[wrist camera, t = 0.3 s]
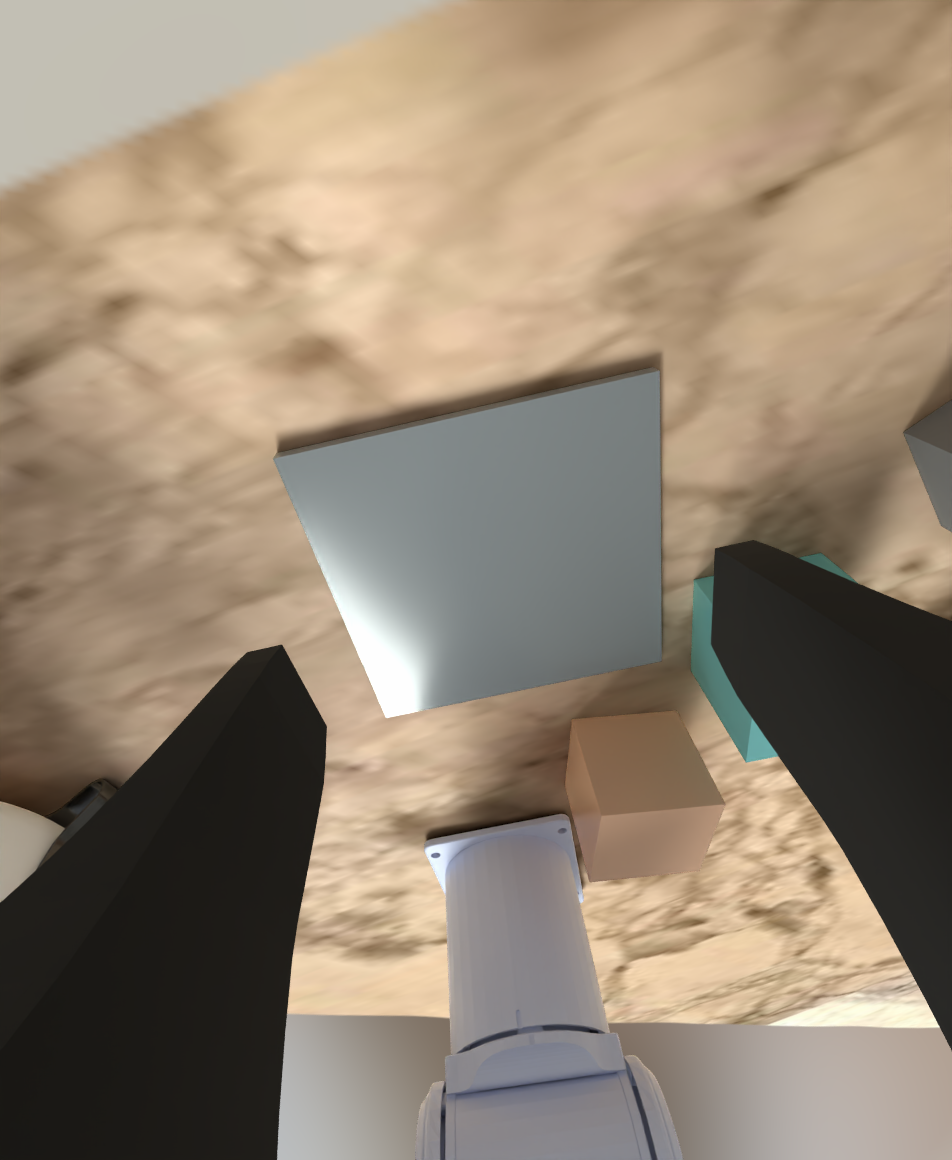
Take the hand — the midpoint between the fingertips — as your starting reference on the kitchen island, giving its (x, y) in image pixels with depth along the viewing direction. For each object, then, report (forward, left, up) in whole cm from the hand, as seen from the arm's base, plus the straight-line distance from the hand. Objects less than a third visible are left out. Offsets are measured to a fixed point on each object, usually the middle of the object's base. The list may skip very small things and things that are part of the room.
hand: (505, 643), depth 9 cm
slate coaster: (-5, 0, -10) cm, 11 cm away
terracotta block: (-17, -4, -10) cm, 20 cm away
